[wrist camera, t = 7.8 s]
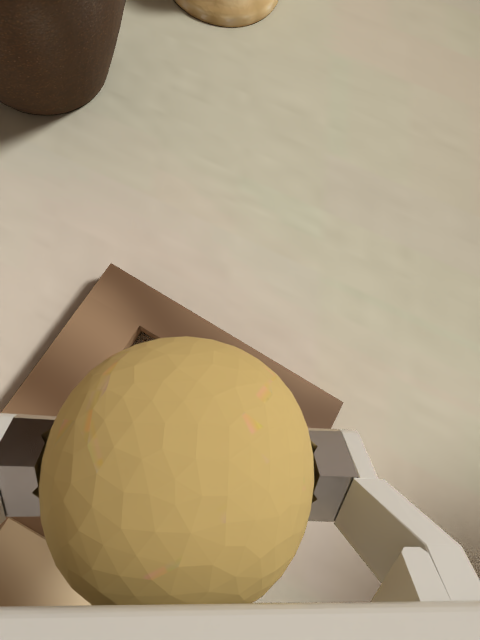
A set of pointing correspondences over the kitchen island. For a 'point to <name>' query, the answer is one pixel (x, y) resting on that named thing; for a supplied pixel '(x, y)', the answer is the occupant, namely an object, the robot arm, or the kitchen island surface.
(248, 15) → the hand bell
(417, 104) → the kitchen island surface
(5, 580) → the socket board
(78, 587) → the light bulb
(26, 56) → the plant pot
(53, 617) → the robot arm
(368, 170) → the kitchen island surface
